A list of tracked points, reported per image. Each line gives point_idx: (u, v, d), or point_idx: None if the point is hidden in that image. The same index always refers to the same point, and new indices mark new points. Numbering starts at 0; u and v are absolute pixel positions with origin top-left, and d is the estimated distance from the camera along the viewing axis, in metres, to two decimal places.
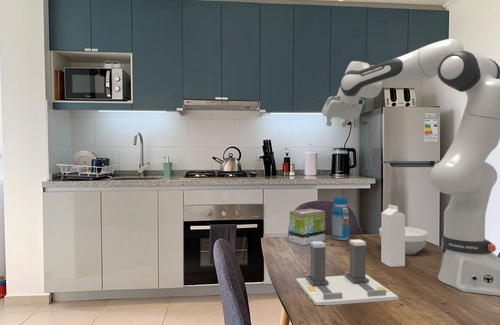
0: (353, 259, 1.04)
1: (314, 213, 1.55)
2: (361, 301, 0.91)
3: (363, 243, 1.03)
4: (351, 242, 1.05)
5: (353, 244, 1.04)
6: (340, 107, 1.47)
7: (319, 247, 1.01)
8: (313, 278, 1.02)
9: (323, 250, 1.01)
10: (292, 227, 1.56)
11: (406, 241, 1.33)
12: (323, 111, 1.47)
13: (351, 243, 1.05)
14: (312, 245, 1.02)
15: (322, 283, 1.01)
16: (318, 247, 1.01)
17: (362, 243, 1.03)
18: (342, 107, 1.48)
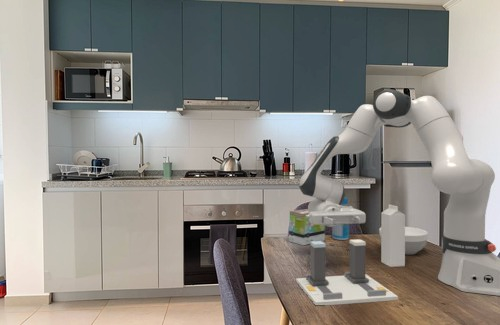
0: (353, 259, 1.04)
1: None
2: (361, 301, 0.91)
3: (363, 243, 1.03)
4: (351, 242, 1.05)
5: (353, 244, 1.04)
6: (326, 212, 1.22)
7: (319, 247, 1.01)
8: (313, 278, 1.02)
9: (323, 250, 1.01)
10: (292, 227, 1.56)
11: (406, 241, 1.33)
12: (311, 220, 1.18)
13: (351, 243, 1.05)
14: (312, 245, 1.02)
15: (322, 283, 1.01)
16: (318, 247, 1.01)
17: (362, 243, 1.03)
18: (329, 212, 1.22)
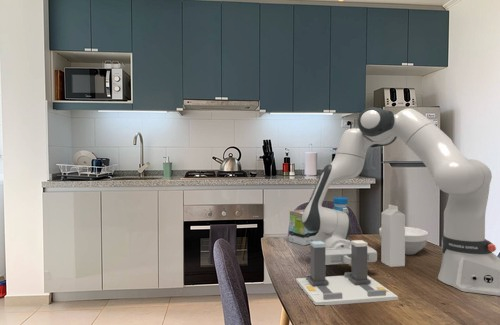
0: (355, 260, 1.03)
1: None
2: (361, 301, 0.91)
3: (365, 244, 1.02)
4: (353, 243, 1.04)
5: (355, 245, 1.03)
6: (335, 250, 1.14)
7: (319, 247, 1.01)
8: (313, 278, 1.02)
9: (323, 250, 1.01)
10: (292, 227, 1.56)
11: (406, 241, 1.33)
12: None
13: (353, 244, 1.04)
14: (312, 245, 1.02)
15: (322, 283, 1.01)
16: (318, 247, 1.01)
17: (364, 244, 1.02)
18: (338, 250, 1.15)
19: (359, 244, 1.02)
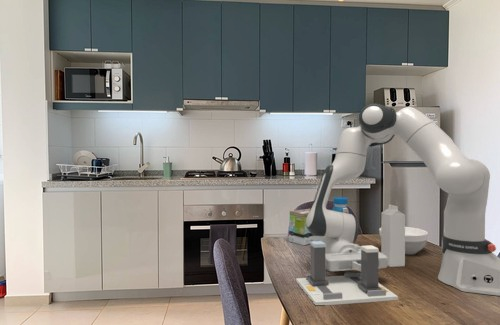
0: (365, 267, 0.96)
1: None
2: (361, 301, 0.91)
3: (376, 250, 0.96)
4: (363, 248, 0.98)
5: (365, 251, 0.96)
6: (343, 255, 1.08)
7: (319, 247, 1.01)
8: (313, 278, 1.02)
9: (323, 250, 1.01)
10: (292, 227, 1.56)
11: (406, 241, 1.33)
12: (326, 266, 1.04)
13: (363, 249, 0.98)
14: (312, 245, 1.02)
15: (322, 283, 1.01)
16: (318, 247, 1.01)
17: (375, 250, 0.96)
18: (346, 255, 1.08)
19: (370, 250, 0.96)
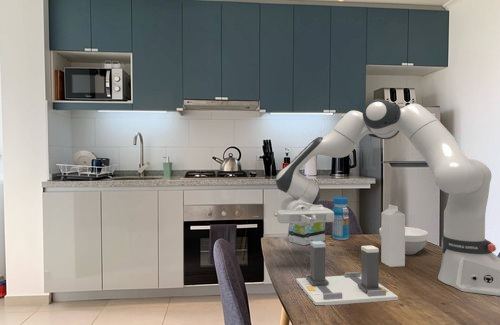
0: (365, 267, 0.96)
1: None
2: (361, 301, 0.91)
3: (376, 250, 0.96)
4: (363, 248, 0.97)
5: (365, 251, 0.96)
6: (295, 211, 1.20)
7: (319, 247, 1.01)
8: (313, 278, 1.02)
9: (323, 250, 1.01)
10: (292, 227, 1.56)
11: (406, 241, 1.33)
12: (278, 218, 1.16)
13: (363, 250, 0.98)
14: (312, 245, 1.02)
15: (322, 283, 1.01)
16: (318, 247, 1.01)
17: (375, 250, 0.96)
18: (298, 211, 1.21)
19: (370, 250, 0.95)
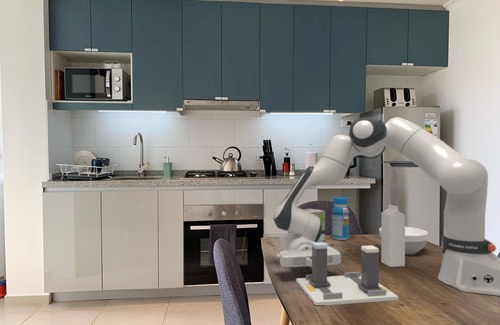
0: (365, 267, 0.96)
1: (314, 213, 1.55)
2: (361, 301, 0.91)
3: (376, 250, 0.96)
4: (363, 248, 0.97)
5: (365, 251, 0.96)
6: (298, 252, 1.12)
7: (321, 249, 1.00)
8: (315, 280, 1.00)
9: (325, 251, 1.00)
10: None
11: (406, 241, 1.33)
12: (281, 262, 1.08)
13: (363, 250, 0.98)
14: (314, 246, 1.01)
15: (324, 285, 0.99)
16: (320, 248, 1.00)
17: (375, 250, 0.96)
18: (302, 252, 1.12)
19: (370, 250, 0.95)
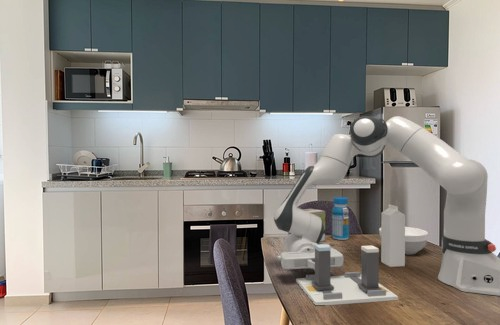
0: (365, 267, 0.96)
1: (314, 213, 1.55)
2: (361, 301, 0.91)
3: (376, 250, 0.96)
4: (363, 248, 0.97)
5: (365, 251, 0.96)
6: (300, 254, 1.10)
7: (324, 251, 0.97)
8: (318, 283, 0.98)
9: (328, 254, 0.98)
10: None
11: (406, 241, 1.33)
12: (282, 264, 1.06)
13: (363, 250, 0.98)
14: (316, 248, 0.99)
15: (327, 288, 0.97)
16: (323, 251, 0.97)
17: (375, 250, 0.96)
18: (303, 253, 1.10)
19: (370, 250, 0.95)
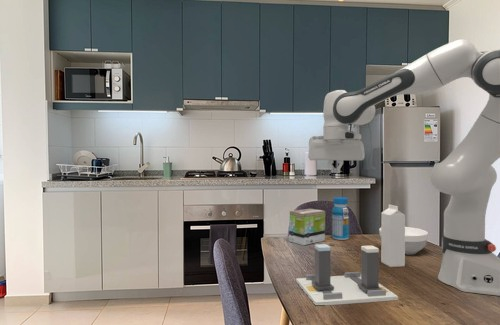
0: (365, 267, 0.96)
1: (314, 213, 1.55)
2: (361, 301, 0.91)
3: (376, 250, 0.96)
4: (363, 248, 0.97)
5: (365, 251, 0.96)
6: (325, 147, 1.23)
7: (324, 251, 0.97)
8: (318, 283, 0.98)
9: (328, 254, 0.98)
10: (292, 227, 1.56)
11: (406, 241, 1.33)
12: None
13: (363, 250, 0.98)
14: (316, 248, 0.99)
15: (327, 288, 0.97)
16: (323, 251, 0.97)
17: (375, 250, 0.96)
18: (329, 147, 1.23)
19: (370, 250, 0.95)
